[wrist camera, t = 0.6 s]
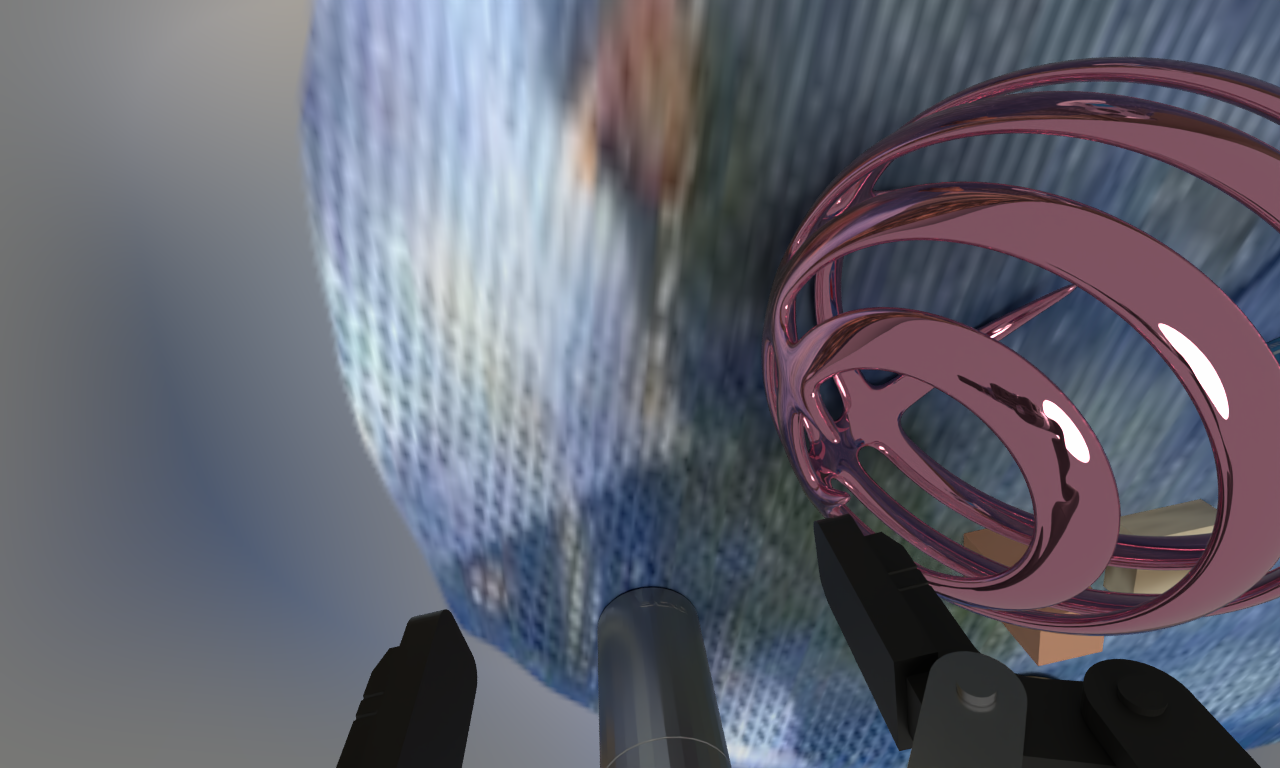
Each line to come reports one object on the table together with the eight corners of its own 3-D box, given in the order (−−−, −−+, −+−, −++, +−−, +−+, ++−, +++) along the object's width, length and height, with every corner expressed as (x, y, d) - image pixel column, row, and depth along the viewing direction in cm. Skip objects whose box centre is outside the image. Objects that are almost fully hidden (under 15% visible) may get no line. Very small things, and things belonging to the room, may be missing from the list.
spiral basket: (1728, 20, 22) (1942, 339, 9) (1286, 523, 39) (1134, 885, 26) (958, 3, 39) (646, 100, 26) (888, 354, 56) (677, 519, 43)
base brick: (1183, 565, 58) (1217, 591, 55) (1100, 583, 58) (1130, 610, 55) (1197, 497, 55) (1235, 520, 51) (1109, 516, 55) (1142, 540, 51)
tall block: (1017, 564, 56) (1102, 651, 46) (964, 576, 56) (1038, 665, 47) (1019, 520, 54) (1108, 603, 44) (963, 533, 54) (1041, 618, 44)
